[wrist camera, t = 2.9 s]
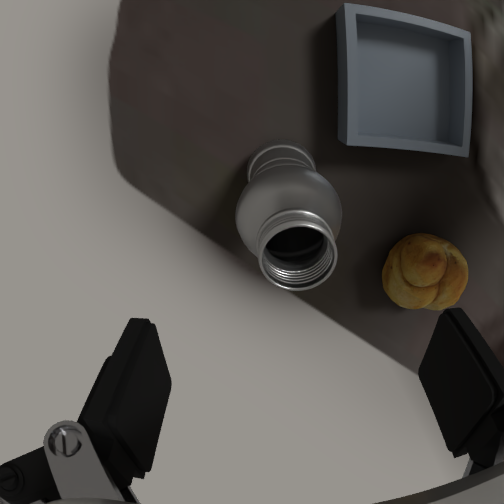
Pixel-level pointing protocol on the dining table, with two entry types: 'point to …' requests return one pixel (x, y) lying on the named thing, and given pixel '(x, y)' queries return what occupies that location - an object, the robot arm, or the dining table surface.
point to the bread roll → (424, 272)
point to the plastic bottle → (289, 216)
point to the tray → (403, 81)
